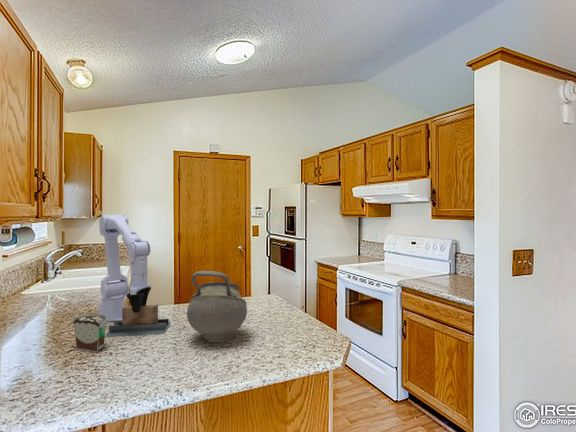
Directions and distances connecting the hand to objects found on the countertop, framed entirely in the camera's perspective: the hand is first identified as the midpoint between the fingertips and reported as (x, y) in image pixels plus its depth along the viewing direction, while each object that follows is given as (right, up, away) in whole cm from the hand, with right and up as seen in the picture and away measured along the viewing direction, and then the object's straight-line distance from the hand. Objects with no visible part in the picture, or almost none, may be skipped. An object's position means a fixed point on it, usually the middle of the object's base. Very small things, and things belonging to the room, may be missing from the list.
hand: (139, 309), depth 124 cm
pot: (+32, -8, -9) cm, 34 cm away
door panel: (0, -7, 0) cm, 7 cm away
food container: (-8, -8, -15) cm, 19 cm away
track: (0, -8, 0) cm, 8 cm away
